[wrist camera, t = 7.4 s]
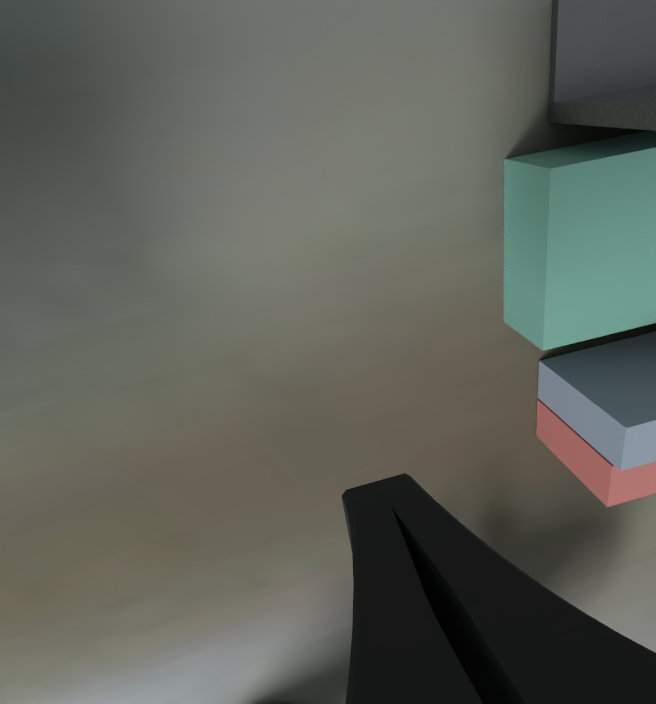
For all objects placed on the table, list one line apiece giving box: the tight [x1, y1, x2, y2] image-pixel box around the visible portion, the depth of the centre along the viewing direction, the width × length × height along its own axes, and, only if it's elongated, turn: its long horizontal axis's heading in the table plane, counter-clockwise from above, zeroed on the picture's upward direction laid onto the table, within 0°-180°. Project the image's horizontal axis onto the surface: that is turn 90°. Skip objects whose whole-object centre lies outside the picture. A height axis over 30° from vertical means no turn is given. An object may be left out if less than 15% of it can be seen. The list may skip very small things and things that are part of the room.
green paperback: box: [504, 130, 656, 351], centre depth 19 cm, size 8×6×3 cm
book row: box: [536, 331, 656, 507], centre depth 21 cm, size 7×4×5 cm, turn 99°
